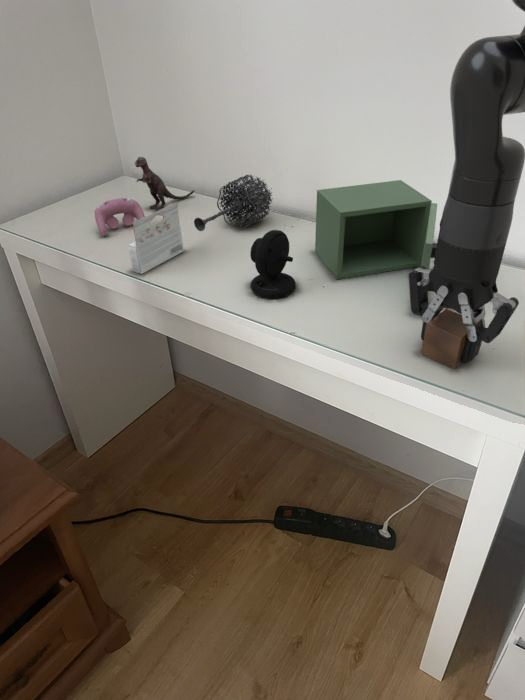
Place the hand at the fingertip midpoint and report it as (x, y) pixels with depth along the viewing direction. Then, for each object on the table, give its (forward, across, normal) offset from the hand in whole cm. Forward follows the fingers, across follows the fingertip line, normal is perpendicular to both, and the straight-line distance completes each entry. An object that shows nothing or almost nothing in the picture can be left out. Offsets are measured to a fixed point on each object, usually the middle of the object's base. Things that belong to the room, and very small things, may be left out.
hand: (447, 350), depth 71 cm
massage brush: (+1, +53, -10) cm, 54 cm away
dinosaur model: (+1, +75, -9) cm, 76 cm away
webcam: (+1, +30, +3) cm, 30 cm away
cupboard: (0, +25, -16) cm, 30 cm away
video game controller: (+1, +71, +6) cm, 71 cm away
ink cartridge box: (+1, +52, +10) cm, 53 cm away
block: (0, 0, 0) cm, 0 cm away
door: (0, +9, -14) cm, 17 cm away
